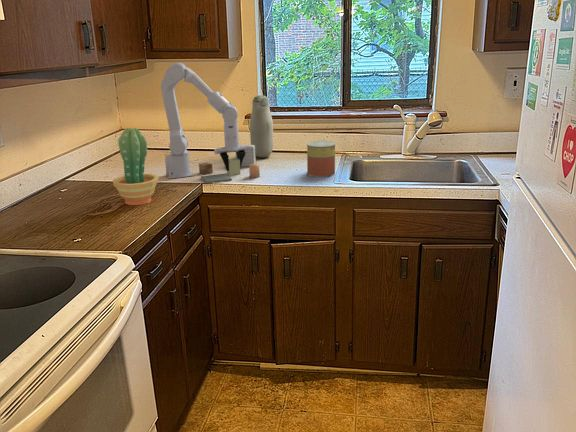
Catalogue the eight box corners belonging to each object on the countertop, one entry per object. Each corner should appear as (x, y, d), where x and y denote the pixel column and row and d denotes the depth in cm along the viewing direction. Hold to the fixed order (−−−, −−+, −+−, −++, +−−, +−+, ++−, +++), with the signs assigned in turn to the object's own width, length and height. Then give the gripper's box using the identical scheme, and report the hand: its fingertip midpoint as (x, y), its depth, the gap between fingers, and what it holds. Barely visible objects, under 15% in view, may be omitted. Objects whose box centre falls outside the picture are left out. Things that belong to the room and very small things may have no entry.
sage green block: (229, 175, 214) (229, 160, 212) (226, 172, 218) (225, 158, 216) (240, 174, 216) (239, 159, 214) (237, 171, 220) (236, 157, 218)
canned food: (339, 175, 211) (339, 145, 207) (312, 177, 208) (312, 147, 204) (329, 168, 221) (329, 140, 217) (303, 171, 218) (303, 142, 214)
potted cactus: (165, 194, 191) (158, 124, 182) (155, 207, 176) (147, 132, 168) (122, 195, 191) (113, 125, 183) (109, 208, 176) (98, 133, 168)
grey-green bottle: (247, 158, 244) (244, 96, 235) (261, 154, 251) (259, 93, 242) (263, 160, 238) (261, 97, 229) (277, 156, 246) (276, 94, 237)
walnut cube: (204, 175, 216) (203, 165, 215) (199, 173, 219) (198, 163, 218) (212, 173, 219) (212, 163, 217) (207, 171, 222) (207, 162, 220)
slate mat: (206, 183, 203) (206, 181, 203) (200, 178, 211) (200, 176, 211) (231, 180, 207) (231, 178, 206) (225, 175, 214) (225, 173, 214)
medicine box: (255, 164, 232) (255, 144, 229) (254, 166, 228) (253, 146, 225) (238, 164, 233) (237, 144, 230) (236, 166, 228) (235, 146, 226)
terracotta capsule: (251, 178, 209) (251, 166, 207) (248, 176, 212) (247, 164, 211) (261, 177, 210) (260, 165, 209) (257, 175, 214) (257, 163, 212)
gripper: (216, 139, 206) (218, 173, 211) (251, 136, 211) (253, 169, 216) (211, 136, 212) (214, 170, 217) (246, 133, 217) (247, 166, 222)
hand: (233, 169), depth 217 cm, fingers closed on sage green block, 4 cm apart
